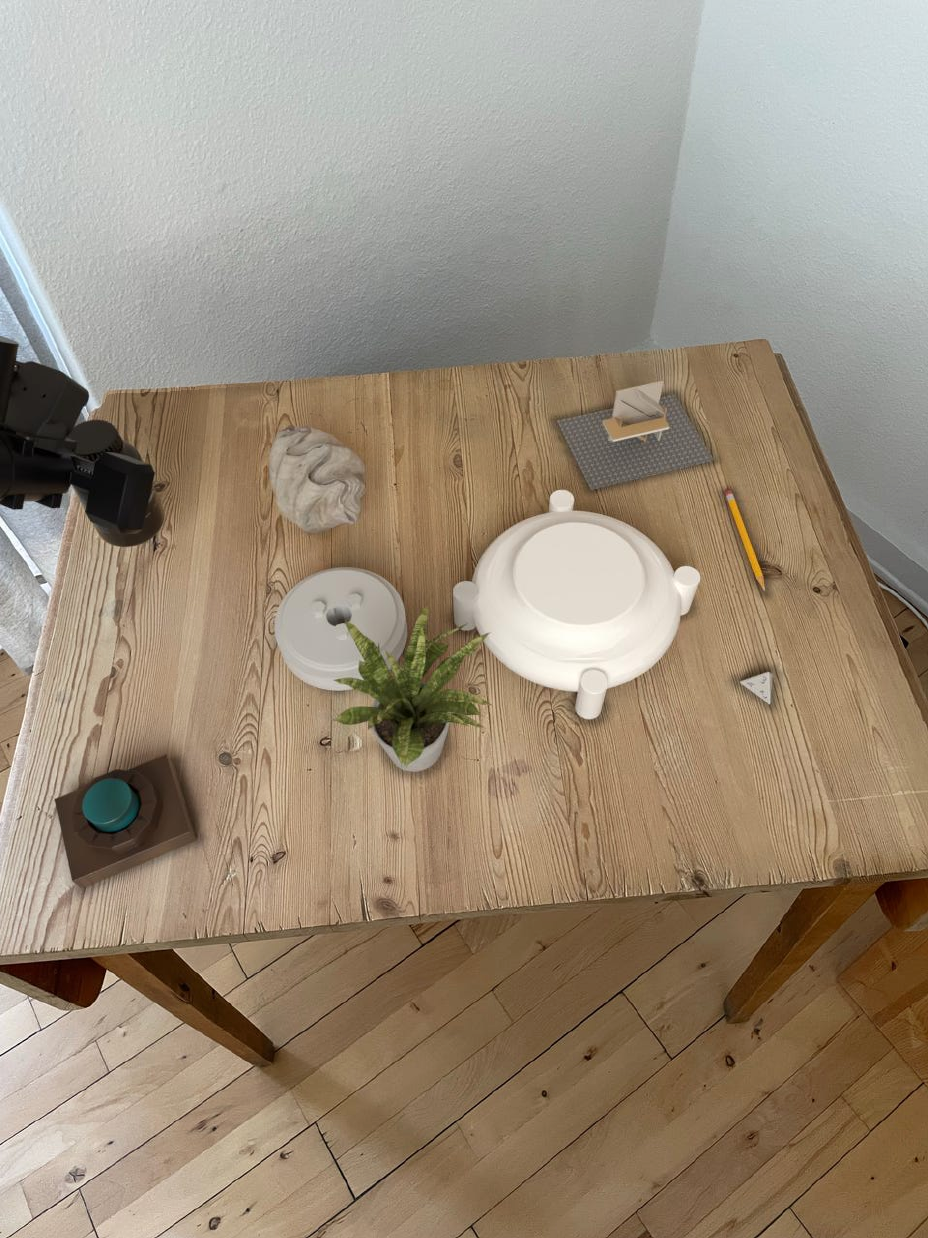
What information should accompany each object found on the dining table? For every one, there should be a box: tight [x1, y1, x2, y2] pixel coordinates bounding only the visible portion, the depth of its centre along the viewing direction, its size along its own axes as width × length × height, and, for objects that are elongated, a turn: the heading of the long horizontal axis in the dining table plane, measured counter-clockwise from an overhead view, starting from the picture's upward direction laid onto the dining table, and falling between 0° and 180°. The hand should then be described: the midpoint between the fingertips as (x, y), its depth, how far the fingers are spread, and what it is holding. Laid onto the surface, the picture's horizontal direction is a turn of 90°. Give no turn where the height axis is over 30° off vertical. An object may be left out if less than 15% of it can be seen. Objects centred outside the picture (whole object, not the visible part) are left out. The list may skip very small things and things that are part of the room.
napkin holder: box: [602, 380, 670, 444], centre depth 98 cm, size 3×7×7 cm, turn 106°
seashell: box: [268, 424, 367, 534], centre depth 92 cm, size 10×15×10 cm
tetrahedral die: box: [739, 671, 774, 705], centre depth 83 cm, size 4×3×3 cm
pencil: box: [724, 490, 766, 592], centre depth 93 cm, size 1×13×1 cm, turn 7°
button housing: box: [54, 753, 197, 890], centre depth 75 cm, size 10×8×4 cm
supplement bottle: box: [66, 419, 165, 548], centre depth 84 cm, size 7×7×12 cm
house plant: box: [332, 604, 492, 773], centre depth 73 cm, size 14×14×16 cm
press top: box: [83, 778, 139, 832], centre depth 73 cm, size 4×4×2 cm
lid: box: [273, 566, 408, 692], centre depth 85 cm, size 13×13×5 cm
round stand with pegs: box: [452, 489, 701, 720], centre depth 85 cm, size 24×24×7 cm
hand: (119, 469), depth 84 cm, fingers closed on supplement bottle, 7 cm apart
